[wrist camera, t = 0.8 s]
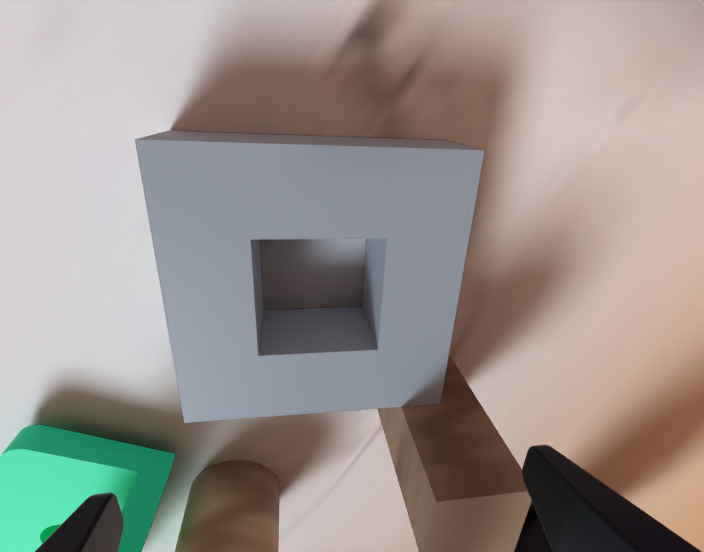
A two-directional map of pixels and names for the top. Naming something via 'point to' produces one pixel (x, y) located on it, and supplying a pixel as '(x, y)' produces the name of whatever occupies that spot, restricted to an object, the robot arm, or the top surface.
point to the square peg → (456, 473)
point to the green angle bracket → (75, 484)
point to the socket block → (307, 223)
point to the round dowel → (232, 510)
